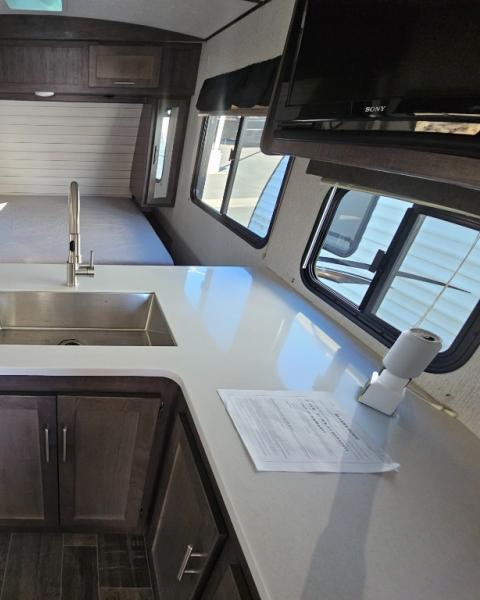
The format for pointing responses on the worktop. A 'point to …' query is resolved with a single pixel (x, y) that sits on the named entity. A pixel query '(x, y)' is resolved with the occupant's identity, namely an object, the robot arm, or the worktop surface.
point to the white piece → (384, 391)
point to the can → (412, 352)
